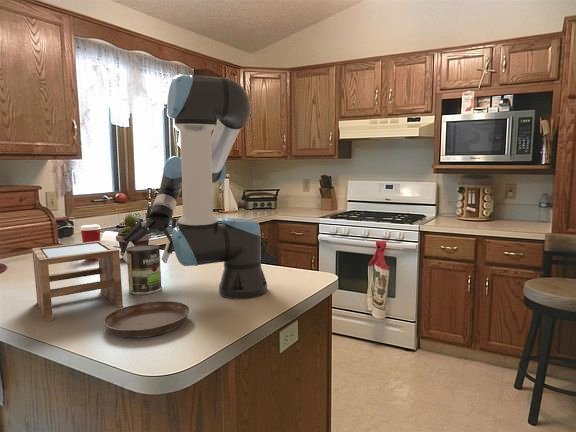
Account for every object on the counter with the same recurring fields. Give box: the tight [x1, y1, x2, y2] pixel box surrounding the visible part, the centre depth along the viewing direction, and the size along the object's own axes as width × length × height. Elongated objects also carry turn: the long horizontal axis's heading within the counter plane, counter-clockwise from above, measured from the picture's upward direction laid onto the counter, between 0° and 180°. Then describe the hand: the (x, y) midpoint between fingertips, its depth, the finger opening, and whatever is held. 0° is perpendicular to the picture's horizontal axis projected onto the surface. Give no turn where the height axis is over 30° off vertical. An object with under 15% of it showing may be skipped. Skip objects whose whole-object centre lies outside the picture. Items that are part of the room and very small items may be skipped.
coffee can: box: [126, 244, 163, 295], centre depth 135 cm, size 10×10×14 cm
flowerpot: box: [116, 212, 152, 258], centre depth 184 cm, size 14×15×20 cm
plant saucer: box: [103, 300, 190, 339], centre depth 106 cm, size 21×21×3 cm
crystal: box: [100, 230, 120, 248], centre depth 213 cm, size 7×7×24 cm
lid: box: [42, 243, 107, 258], centre depth 121 cm, size 15×15×1 cm
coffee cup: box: [79, 224, 102, 262], centre depth 181 cm, size 8×8×15 cm
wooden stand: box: [31, 241, 124, 322], centre depth 122 cm, size 20×20×16 cm
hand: (144, 260), depth 137 cm, fingers open, 13 cm apart
